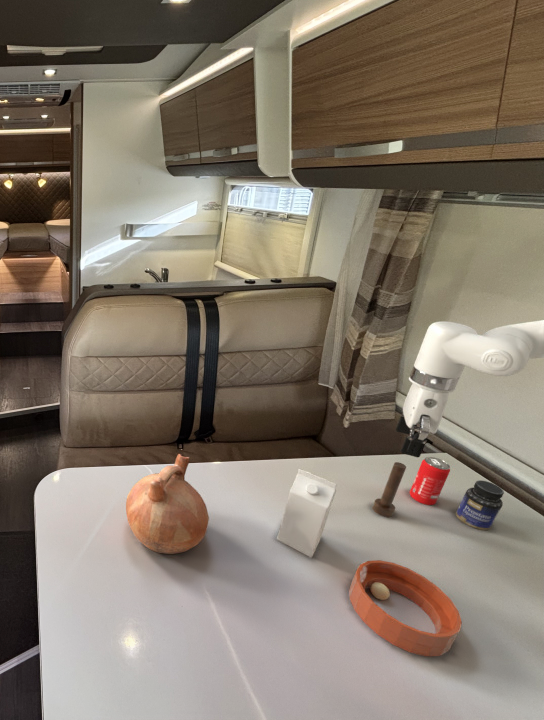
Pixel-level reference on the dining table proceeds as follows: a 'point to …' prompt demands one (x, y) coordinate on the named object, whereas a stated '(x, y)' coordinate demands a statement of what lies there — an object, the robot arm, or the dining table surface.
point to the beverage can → (429, 480)
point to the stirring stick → (390, 491)
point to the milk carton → (306, 512)
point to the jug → (167, 510)
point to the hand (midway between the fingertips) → (406, 443)
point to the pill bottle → (480, 505)
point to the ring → (415, 590)
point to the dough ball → (379, 590)
